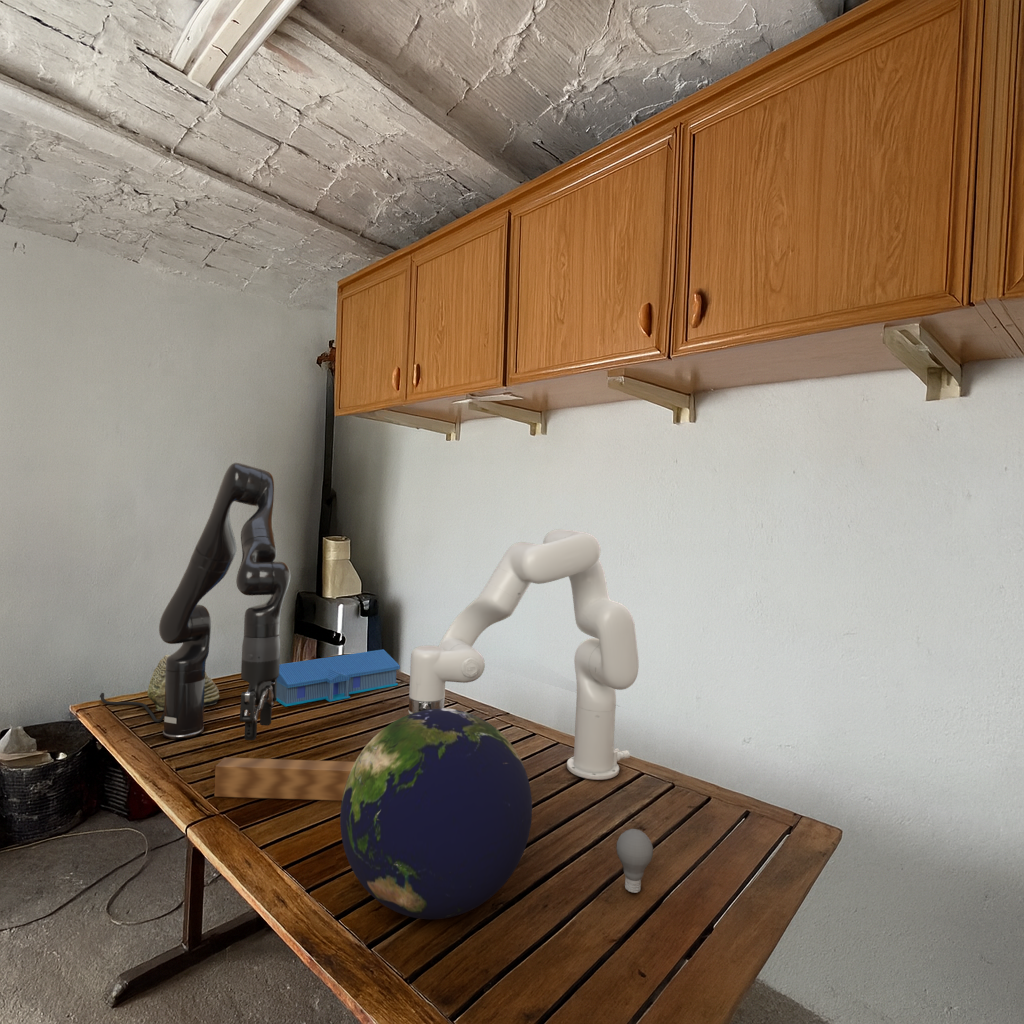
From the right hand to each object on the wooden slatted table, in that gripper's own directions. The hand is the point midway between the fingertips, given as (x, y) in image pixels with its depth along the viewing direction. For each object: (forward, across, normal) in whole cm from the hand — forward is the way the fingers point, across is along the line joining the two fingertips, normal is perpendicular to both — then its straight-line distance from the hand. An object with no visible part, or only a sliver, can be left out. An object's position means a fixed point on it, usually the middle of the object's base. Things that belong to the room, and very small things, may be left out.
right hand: (423, 789), depth 135 cm
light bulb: (+2, -30, -38) cm, 49 cm away
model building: (+2, +74, +38) cm, 83 cm away
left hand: (-11, 0, +35) cm, 37 cm away
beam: (+2, 0, +18) cm, 18 cm away
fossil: (+2, +52, +76) cm, 92 cm away
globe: (+2, -35, -6) cm, 35 cm away
